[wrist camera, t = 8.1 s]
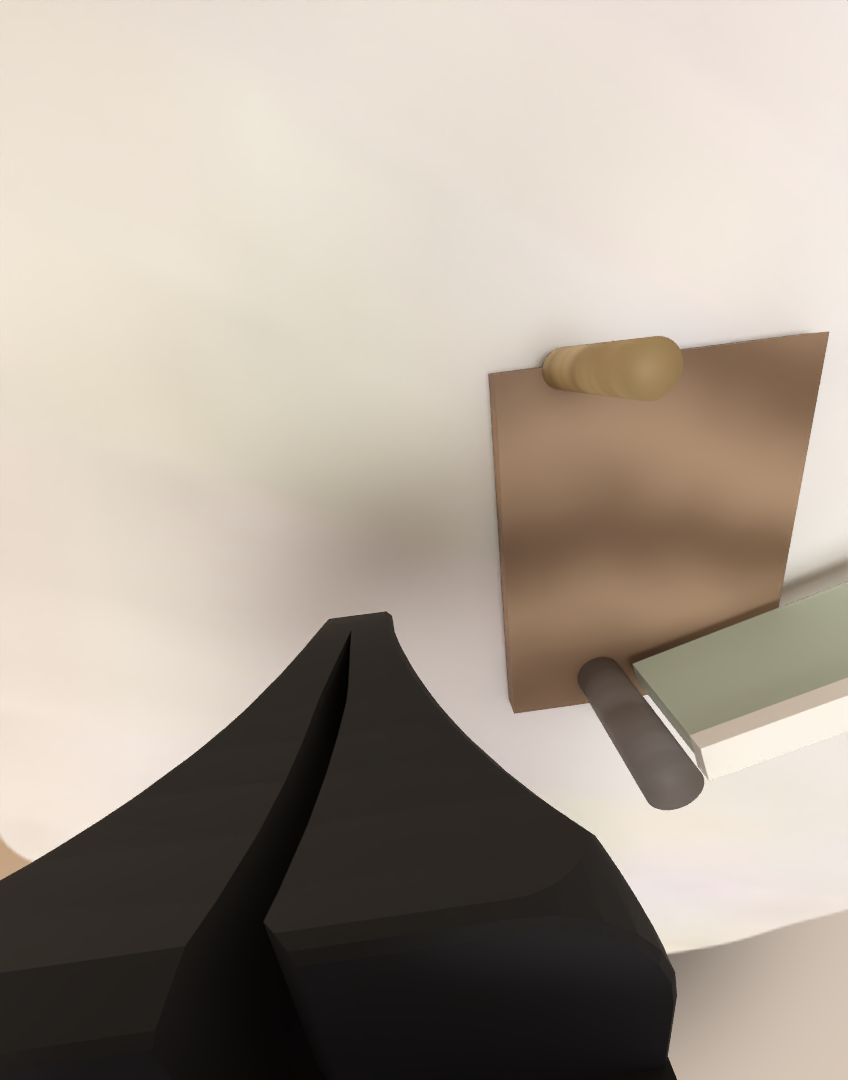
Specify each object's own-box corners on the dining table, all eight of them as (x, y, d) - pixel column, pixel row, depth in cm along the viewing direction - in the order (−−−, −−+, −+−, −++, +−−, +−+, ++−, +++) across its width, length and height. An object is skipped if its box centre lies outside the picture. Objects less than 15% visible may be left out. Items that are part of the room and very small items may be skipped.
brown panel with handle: (749, 665, 23) (895, 787, 16) (509, 699, 22) (557, 836, 16) (808, 315, 17) (1070, 284, 10) (487, 356, 17) (548, 350, 10)
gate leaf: (636, 686, 20) (709, 780, 16) (628, 659, 20) (700, 748, 15) (887, 591, 20) (1042, 662, 15) (885, 560, 19) (1046, 623, 14)
